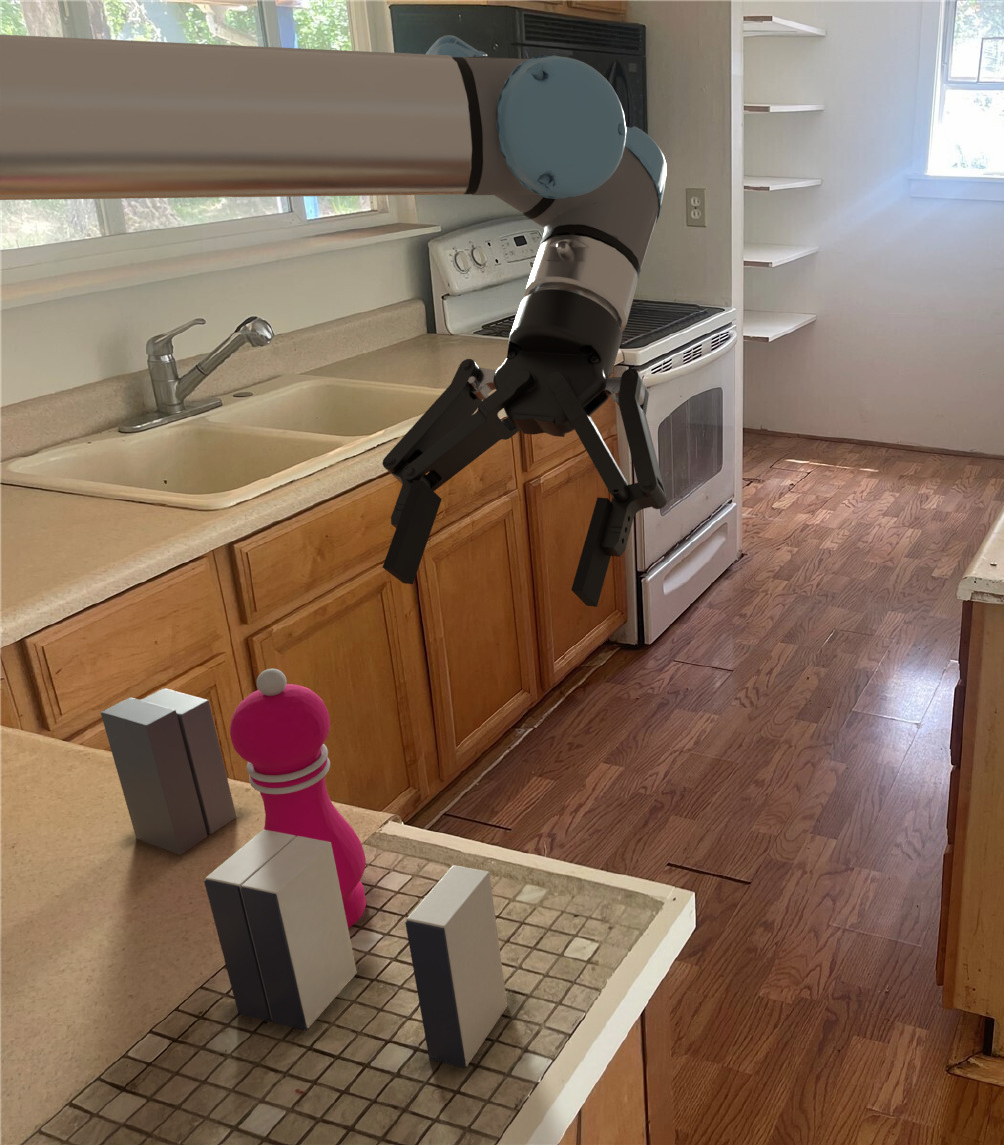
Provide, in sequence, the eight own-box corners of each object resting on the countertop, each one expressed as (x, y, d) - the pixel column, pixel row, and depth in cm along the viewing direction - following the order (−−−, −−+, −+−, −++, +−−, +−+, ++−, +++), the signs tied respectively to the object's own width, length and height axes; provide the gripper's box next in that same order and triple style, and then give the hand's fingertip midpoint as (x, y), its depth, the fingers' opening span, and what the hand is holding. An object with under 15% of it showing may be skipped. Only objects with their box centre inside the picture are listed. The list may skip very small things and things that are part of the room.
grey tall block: (239, 1020, 68) (202, 879, 64) (293, 963, 72) (262, 828, 68) (307, 1037, 66) (275, 894, 62) (358, 978, 71) (331, 841, 67)
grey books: (182, 860, 83) (146, 725, 78) (137, 844, 85) (99, 711, 80) (238, 822, 87) (207, 693, 83) (194, 808, 89) (162, 680, 84)
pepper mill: (375, 939, 74) (328, 686, 67) (262, 965, 72) (200, 706, 64) (373, 876, 81) (329, 638, 73) (269, 898, 78) (213, 655, 71)
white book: (429, 1066, 64) (404, 920, 60) (473, 1003, 69) (453, 864, 65) (466, 1075, 64) (443, 928, 59) (508, 1011, 68) (489, 871, 64)
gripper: (396, 277, 77) (292, 544, 70) (725, 290, 71) (650, 585, 63) (445, 339, 84) (355, 588, 76) (749, 355, 77) (684, 629, 70)
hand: (488, 587), depth 70 cm, fingers open, 13 cm apart
